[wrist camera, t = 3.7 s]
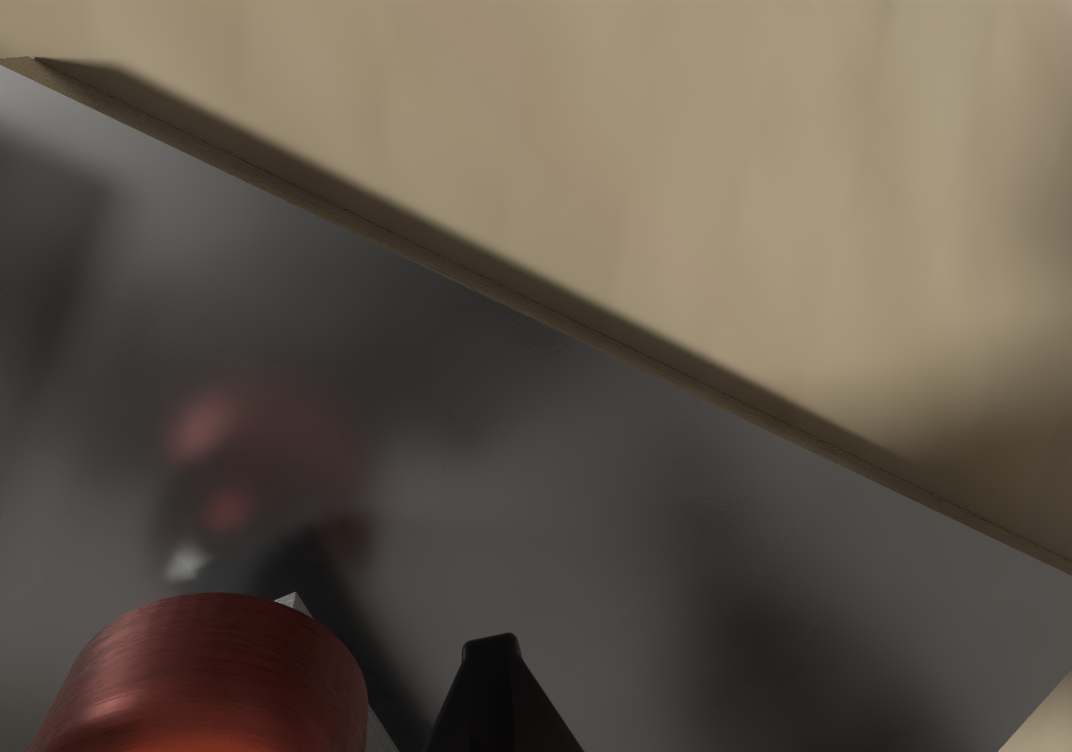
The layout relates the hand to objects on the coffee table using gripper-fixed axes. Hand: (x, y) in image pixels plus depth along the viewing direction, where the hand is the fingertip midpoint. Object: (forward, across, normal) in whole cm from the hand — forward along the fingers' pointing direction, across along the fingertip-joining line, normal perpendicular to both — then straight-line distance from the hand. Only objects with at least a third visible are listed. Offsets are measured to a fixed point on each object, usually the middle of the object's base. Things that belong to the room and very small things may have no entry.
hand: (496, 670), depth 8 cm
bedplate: (+3, +3, +6) cm, 7 cm away
